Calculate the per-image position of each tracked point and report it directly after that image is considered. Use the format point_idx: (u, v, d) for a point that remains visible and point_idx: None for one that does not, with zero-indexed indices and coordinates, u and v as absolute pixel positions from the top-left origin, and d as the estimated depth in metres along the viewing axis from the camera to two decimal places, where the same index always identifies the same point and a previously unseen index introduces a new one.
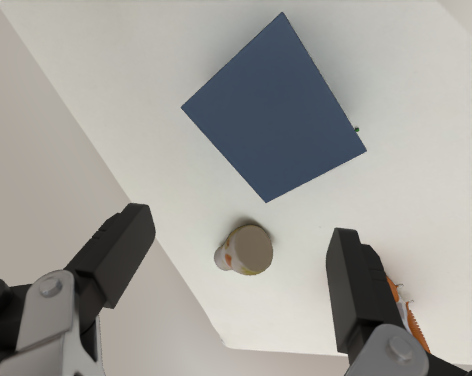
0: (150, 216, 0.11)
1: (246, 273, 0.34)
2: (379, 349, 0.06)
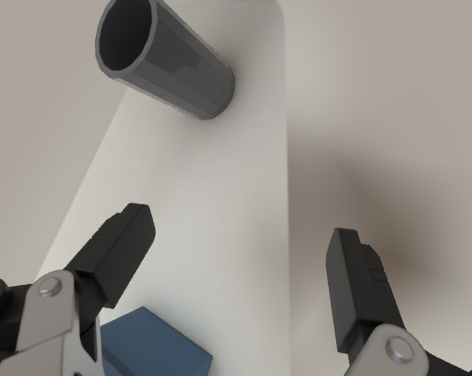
0: (150, 216, 0.11)
1: None
2: (379, 349, 0.06)
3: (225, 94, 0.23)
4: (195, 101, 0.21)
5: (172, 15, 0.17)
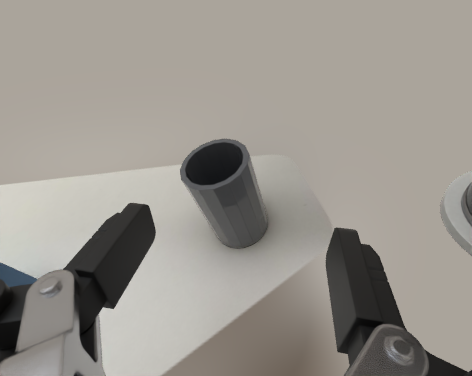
0: (150, 216, 0.11)
1: None
2: (379, 349, 0.06)
3: (240, 243, 0.26)
4: (215, 227, 0.25)
5: (244, 185, 0.21)
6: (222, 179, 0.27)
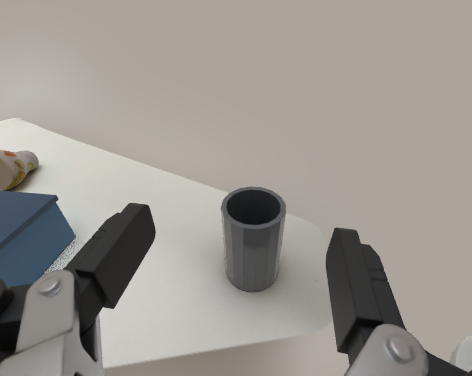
0: (150, 216, 0.11)
1: None
2: (379, 349, 0.06)
3: (242, 284, 0.27)
4: (228, 260, 0.27)
5: (270, 237, 0.23)
6: (253, 222, 0.29)
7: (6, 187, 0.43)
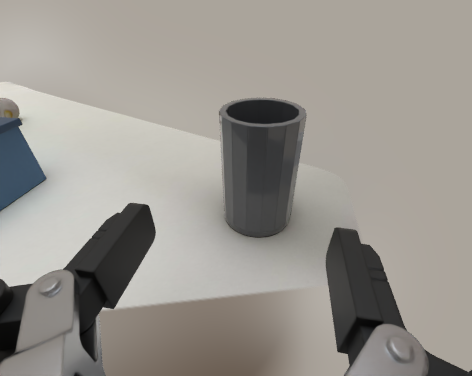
0: (150, 216, 0.11)
1: None
2: (379, 349, 0.06)
3: (245, 226, 0.21)
4: (227, 191, 0.20)
5: (284, 145, 0.17)
6: None
7: None
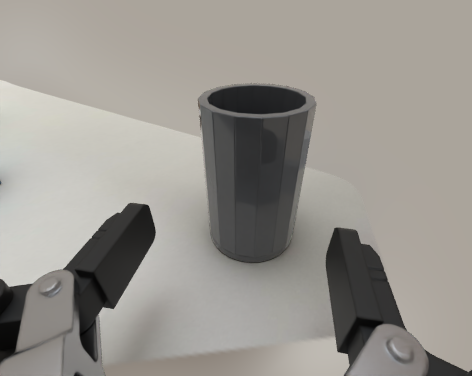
0: (150, 216, 0.11)
1: None
2: (379, 349, 0.06)
3: (234, 248, 0.16)
4: (211, 205, 0.16)
5: (286, 145, 0.12)
6: None
7: None
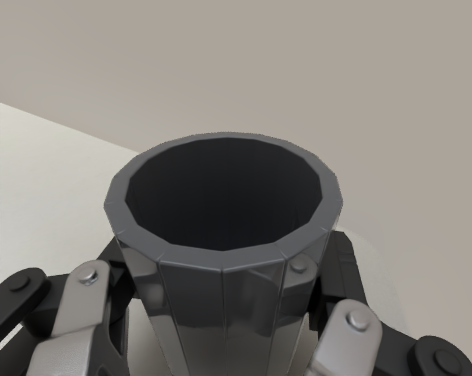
0: None
1: None
2: (340, 323, 0.06)
3: None
4: None
5: (281, 300, 0.06)
6: (237, 230, 0.12)
7: None
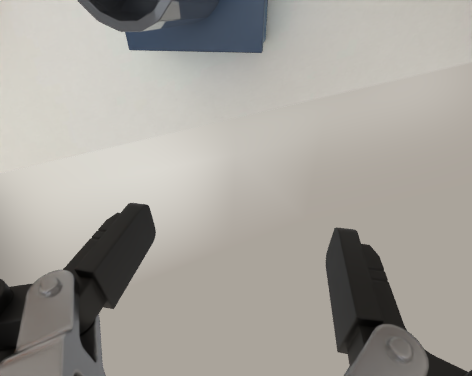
0: (150, 216, 0.11)
1: None
2: (379, 349, 0.06)
3: None
4: None
5: (170, 18, 0.14)
6: None
7: None
